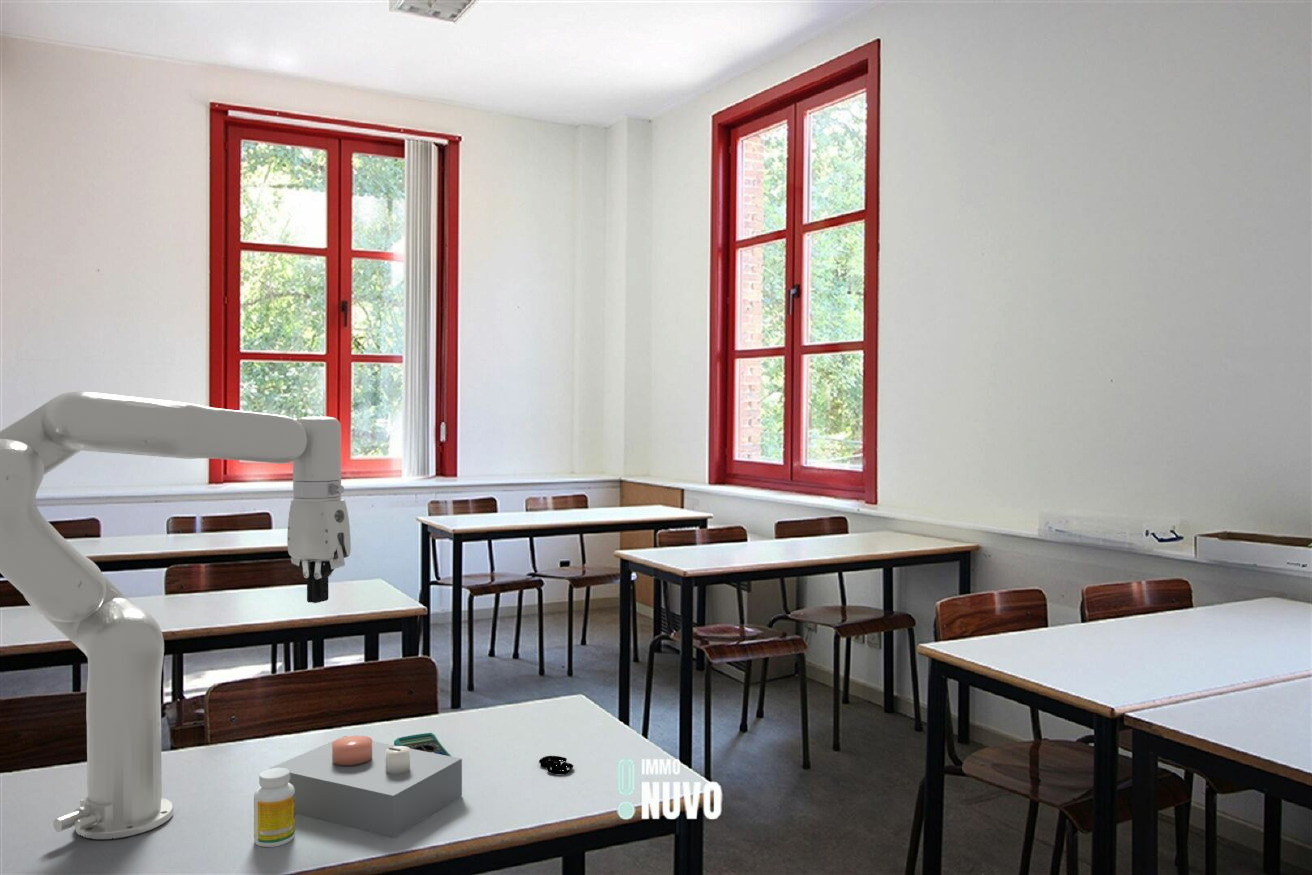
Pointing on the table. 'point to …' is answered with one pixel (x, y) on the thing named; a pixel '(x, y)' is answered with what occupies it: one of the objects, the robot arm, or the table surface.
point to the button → (352, 750)
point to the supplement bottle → (274, 808)
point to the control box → (373, 788)
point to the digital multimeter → (422, 743)
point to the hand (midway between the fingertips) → (317, 601)
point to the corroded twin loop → (551, 763)
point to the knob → (397, 759)
